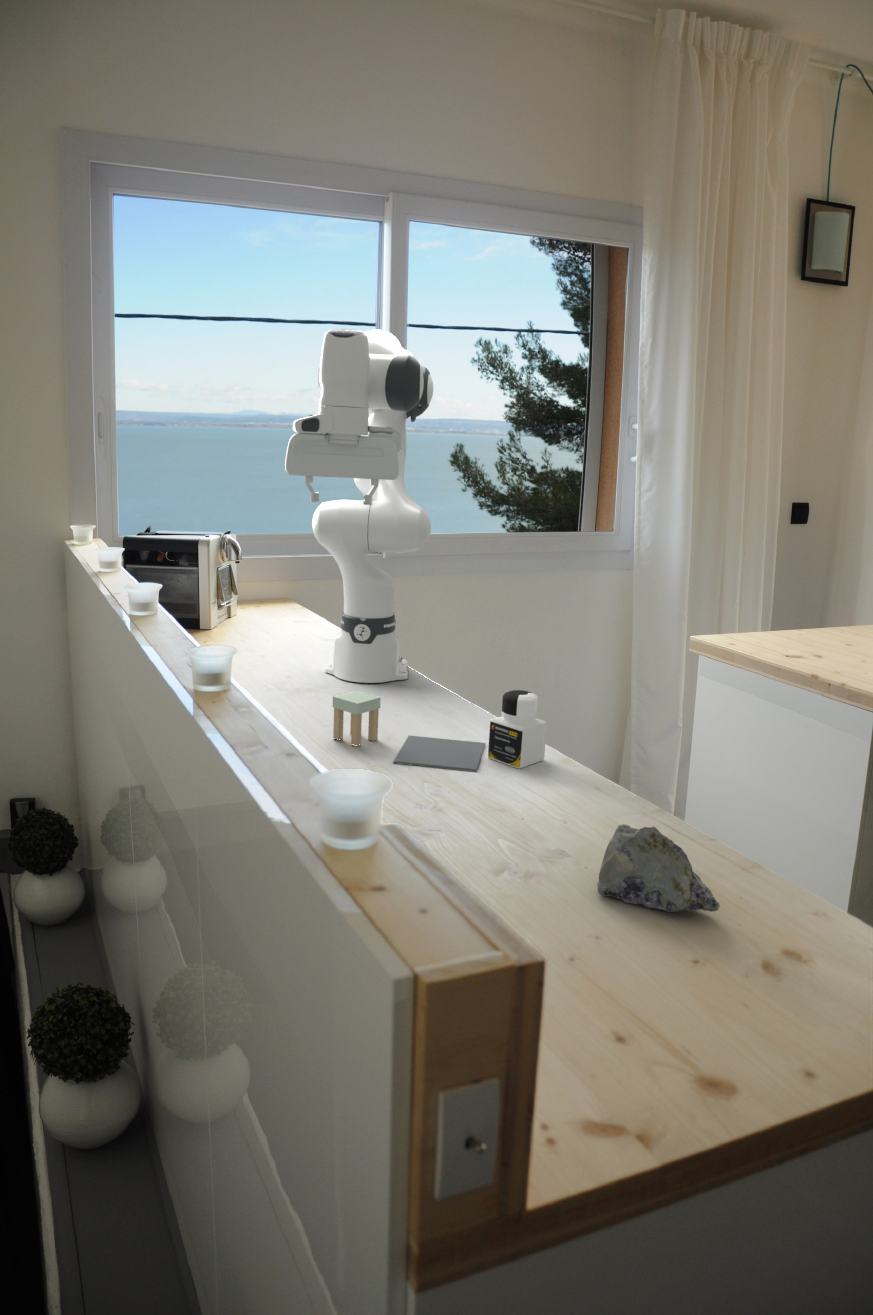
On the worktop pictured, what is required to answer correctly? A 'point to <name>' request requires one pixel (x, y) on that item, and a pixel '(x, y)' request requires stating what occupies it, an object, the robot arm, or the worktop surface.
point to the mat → (441, 753)
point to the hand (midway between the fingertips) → (341, 503)
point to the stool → (356, 714)
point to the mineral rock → (651, 872)
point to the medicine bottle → (517, 731)
